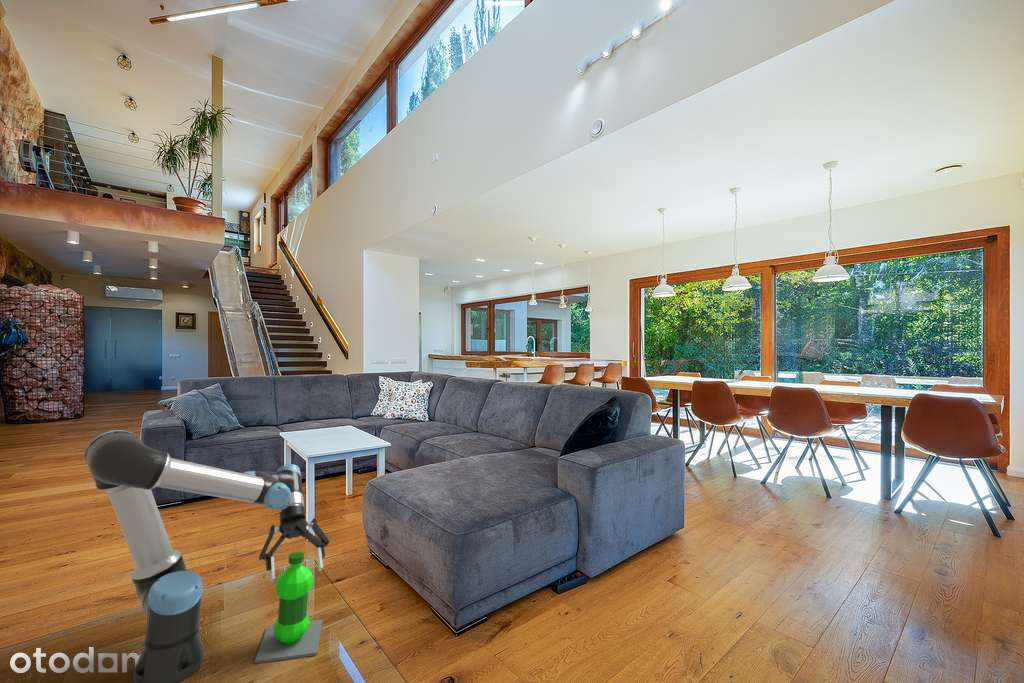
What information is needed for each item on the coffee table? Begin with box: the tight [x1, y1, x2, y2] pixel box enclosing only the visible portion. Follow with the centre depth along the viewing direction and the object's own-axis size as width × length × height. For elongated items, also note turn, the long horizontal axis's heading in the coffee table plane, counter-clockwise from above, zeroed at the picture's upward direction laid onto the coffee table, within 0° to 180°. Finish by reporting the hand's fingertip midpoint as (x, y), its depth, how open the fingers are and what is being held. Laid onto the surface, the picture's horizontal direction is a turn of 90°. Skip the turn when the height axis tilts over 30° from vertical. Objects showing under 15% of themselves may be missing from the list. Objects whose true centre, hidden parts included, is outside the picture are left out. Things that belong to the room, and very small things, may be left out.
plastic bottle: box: [273, 551, 314, 644], centre depth 132 cm, size 10×10×25 cm
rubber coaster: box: [254, 618, 324, 664], centre depth 132 cm, size 16×16×1 cm
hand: (297, 575), depth 135 cm, fingers open, 13 cm apart
